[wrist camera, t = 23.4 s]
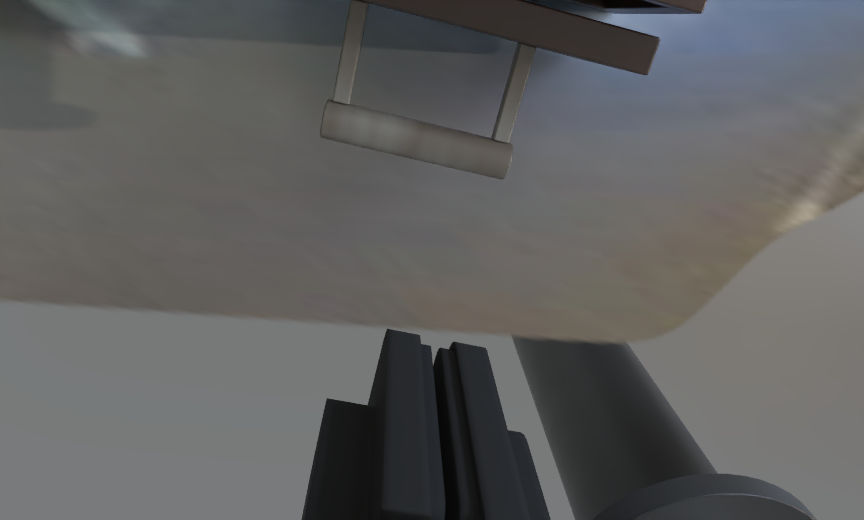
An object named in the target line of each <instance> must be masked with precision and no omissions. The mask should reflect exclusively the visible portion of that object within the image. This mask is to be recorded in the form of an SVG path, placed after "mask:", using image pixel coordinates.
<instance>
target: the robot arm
mask: <svg viewBox="0 0 864 520" xmlns="http://www.w3.org/2000/svg"><path fill="white" fill-rule="evenodd" d="M302 520H550V516H549V513H548V510H547V506H546V503H545V500H544V496H543V493H542V490H541V486H540V483H539V480H538V476H537V473H536V470H535V466H534V463H533V459H532V456H531V453H530V449H529V446H528V443H527V440H526V438H525V436H524V434H522V433H521V432H515V431H509V430H507V426H506V422H505V419H504V414H503V411H502V407H501V403H500V399H499V395H498V392H497V387H496V384H495V380H494V376H493V372H492V368H491V364H490V360H489V357H488V353H487V350H486V348H483V347H478V346H473V345H468V344H463V343H458V342H453V343H452V344H451V346H450V349H444V348H439V350H438V352H437V355H436V358H435V361H434V365H433V363H432V352H431V346H428V345H423V344H421V341H420V335H416V334H411V333H406V332H401V331H396V330H391V329H387V331H386V334H385V337H384V341H383V345H382V349H381V353H380V358H379V361H378V365H377V370H376V374H375V378H374V382H373V386H372V390H371V394H370V398H369V402H368V406H367V405H361V404H356V403H350V402H345V401H339V400H333V399H327V401H326V405H325V409H324V414H323V418H322V423H321V427H320V432H319V437H318V442H317V446H316V451H315V455H314V461H313V465H312V470H311V475H310V480H309V485H308V490H307V495H306V500H305V506H304V510H303V516H302Z"/></svg>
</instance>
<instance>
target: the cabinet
mask: <svg viewBox="0 0 864 520" xmlns="http://www.w3.org/2000/svg"><path fill="white" fill-rule="evenodd" d="M567 1H571V2H574V3H578V4H581V5H585V6H589V7H592V8H596V9H599V10H603V11H607V12H610V13H614V14H701V13H702V12H703V10H704V7H705V5H706V2H707V0H567Z"/></svg>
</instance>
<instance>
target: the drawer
mask: <svg viewBox="0 0 864 520" xmlns="http://www.w3.org/2000/svg"><path fill="white" fill-rule="evenodd" d="M369 3H371V4H374V5H378V6H382V7H386V8H390V9H393V10H397V11H401V12H405V13H409V14H412V15H416V16H420V17H424V18H427V19H431V20H435V21H439V22H443V23H446V24H450V25H454V26H458V27H462V28H465V29H469V30H473V31H477V32H480V33H484V34H488V35H492V36H496V37H499V38H503V39H507V40H511V41H514V42H518V44H517V48H516V51H515V55H514V58H513V62H512V66H511V69H510V73H509V76H508V80H507V83H506V87H505V91H504V94H503V98H502V101H501V105H500V108H499V112H498V116H497V119H496V123H495V126H494V130H493V134H492V138H493V139H492V138H488V137H484V136H479V135H475V134H471V133H467V132H463V131H459V130H454V129H450V128H446V127H442V126H438V125H434V124H430V123H425V122H421V121H417V120H413V119H409V118H405V117H401V116H396V115H392V114H388V113H384V112H380V111H376V110H372V109H367V108H363V107H359V106H355V105H351V104H349V103H350V100H351V95H352V90H353V84H354V79H355V74H356V69H357V64H358V59H359V53H360V48H361V43H362V38H363V33H364V27H365V22H366V17H367V12H368V7H369ZM659 42H660V38H659V37H655V36H652V35H648V34H644V33H641V32H637V31H633V30H630V29H626V28H622V27H619V26H615V25H611V24H608V23H604V22H600V21H597V20H593V19H590V18H586V17H582V16H579V15H575V14H571V13H568V12H564V11H560V10H557V9H553V8H549V7H546V6H542V5H538V4H535V3H531V2H528V1H524V0H351V2H350V7H349V12H348V18H347V23H346V29H345V34H344V40H343V45H342V51H341V56H340V62H339V67H338V73H337V78H336V84H335V89H334V94H333V100H330V99H328V100H327V102H326V105H325V109H324V113H323V118H322V123H321V130H320V136H321V138H325V139H330V140H334V141H338V142H342V143H347V144H351V145H355V146H360V147H364V148H368V149H373V150H377V151H381V152H385V153H390V154H394V155H398V156H403V157H407V158H411V159H416V160H420V161H424V162H428V163H433V164H437V165H441V166H446V167H450V168H454V169H459V170H463V171H467V172H472V173H476V174H480V175H484V176H489V177H493V178H497V179H504V178H505V177H506V175H507V173H508V170H509V168H510V164H511V160H512V155H513V145H512V144H511V143H509V140H510V137H511V134H512V130H513V127H514V123H515V120H516V116H517V113H518V109H519V106H520V103H521V99H522V96H523V92H524V89H525V85H526V82H527V78H528V75H529V72H530V68H531V65H532V61H533V58H534V54H535V51H536V47H537V48H541V49H545V50H549V51H552V52H556V53H560V54H564V55H567V56H571V57H575V58H579V59H583V60H586V61H590V62H594V63H598V64H602V65H606V66H610V67H614V68H618V69H622V70H626V71H630V72H634V73H638V74H642V75H648V73H649V70H650V68H651V65H652V62H653V59H654V56H655V54H656V51H657V48H658V45H659Z"/></svg>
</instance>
